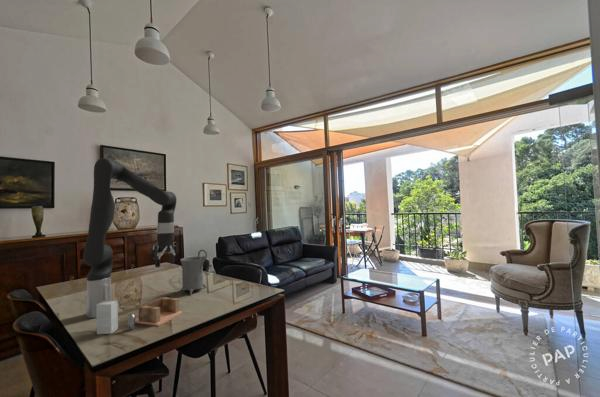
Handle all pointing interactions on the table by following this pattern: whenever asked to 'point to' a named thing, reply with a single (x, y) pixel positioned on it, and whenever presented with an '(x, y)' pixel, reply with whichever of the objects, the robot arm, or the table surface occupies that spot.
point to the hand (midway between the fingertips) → (165, 265)
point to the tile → (161, 318)
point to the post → (131, 322)
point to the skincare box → (107, 317)
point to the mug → (193, 272)
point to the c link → (158, 309)
